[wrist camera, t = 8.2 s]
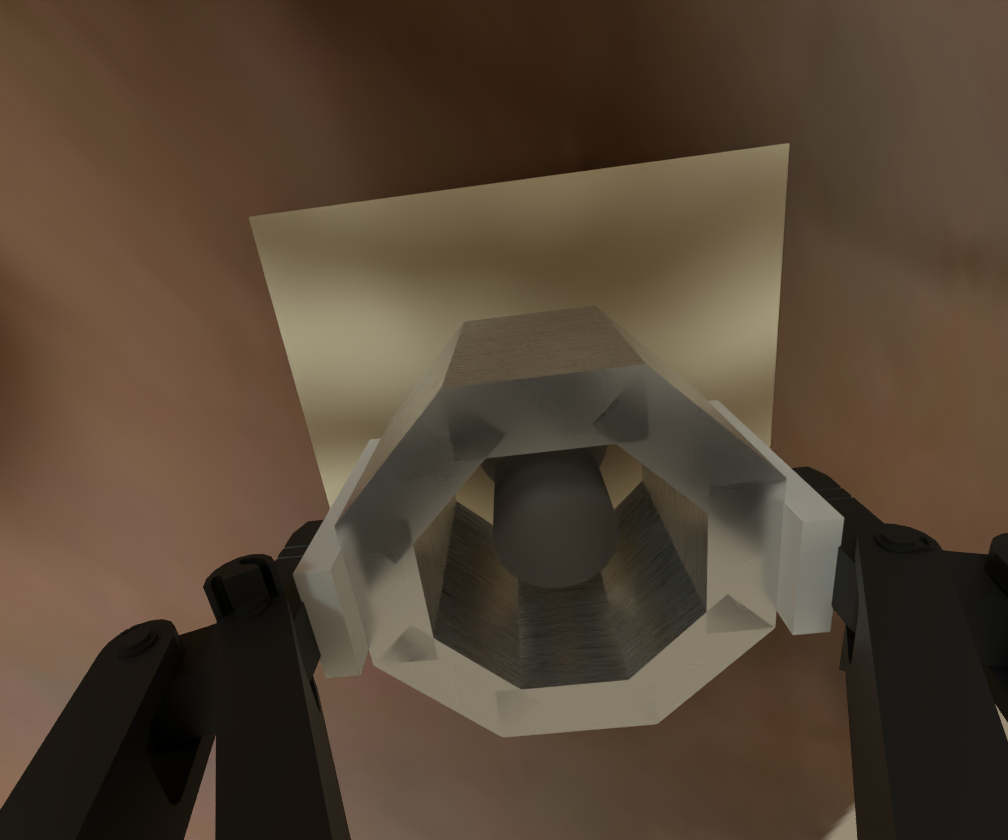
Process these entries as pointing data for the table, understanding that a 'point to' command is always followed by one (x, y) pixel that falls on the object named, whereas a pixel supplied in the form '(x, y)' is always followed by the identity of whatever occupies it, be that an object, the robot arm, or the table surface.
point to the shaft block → (531, 289)
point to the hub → (590, 604)
